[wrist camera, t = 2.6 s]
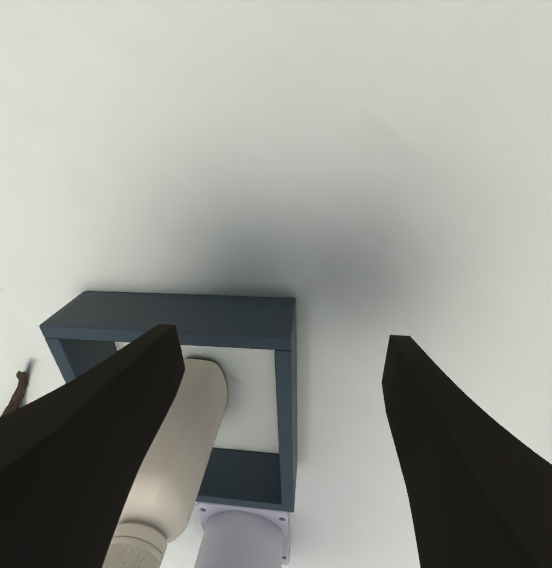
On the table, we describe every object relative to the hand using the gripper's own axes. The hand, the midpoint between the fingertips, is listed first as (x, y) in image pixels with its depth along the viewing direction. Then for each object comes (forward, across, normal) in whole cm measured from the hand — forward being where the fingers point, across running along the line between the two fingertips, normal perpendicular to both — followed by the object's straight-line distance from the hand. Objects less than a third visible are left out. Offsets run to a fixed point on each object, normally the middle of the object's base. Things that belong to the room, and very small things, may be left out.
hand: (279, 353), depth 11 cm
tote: (+6, +6, +9) cm, 13 cm away
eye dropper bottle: (+7, +6, +9) cm, 13 cm away
